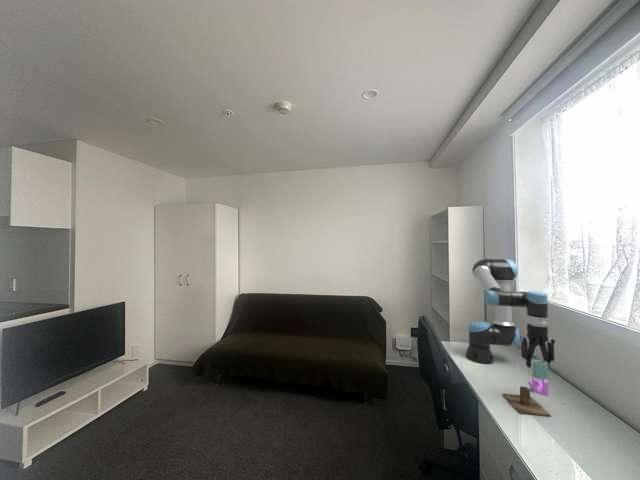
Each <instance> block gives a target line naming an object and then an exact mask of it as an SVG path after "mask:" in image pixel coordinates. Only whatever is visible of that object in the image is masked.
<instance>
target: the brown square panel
mask: <svg viewBox="0 0 640 480" xmlns="http://www.w3.org/2000/svg"><path fill="white" fill-rule="evenodd" d="M530 393H531V390H530V389H529V388H528V387H527V386H519V394H511V393H502V396H503V397H504V398H505V400H506V401H507V400H508V401H507V402H508V403H509V404H510V405H511V406H512V407H513V408H514V410H516V412H517V413H518V414H520V415H529V416H539V417H547V418H548V417H549V418H551V416H552V415H551V413H549V412H548V411H547V410H546V409H545V408H544V407H543V406H542V405H541V404H539V402H537V401H536V399H534V398H533V397H532V396H531V394H530Z"/></svg>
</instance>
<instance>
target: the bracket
mask: <svg viewBox="0 0 640 480" xmlns="http://www.w3.org/2000/svg"><path fill="white" fill-rule="evenodd" d="M531 376H532V375H531ZM528 382H529V385H530V387H531V389H532V391H533V393H535V394H541V395H545V396H549V381H548V379H542V381H541V380H540V379H536V378H534V377H533V376H532V377H531V378H530V379H528Z"/></svg>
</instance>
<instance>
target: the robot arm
mask: <svg viewBox="0 0 640 480" xmlns="http://www.w3.org/2000/svg"><path fill="white" fill-rule="evenodd" d="M471 272H472V274H473V276H474V278H476V279H478V281H479V282H480V284H481V286H482V288H483V290H484V295H483V297H484V302H485V303H486V305H487V306H494V309H495V310H494V313H495V320H493V322H492V324H491V323H489V321H488V322H487V321H482V320H477V321H476V320H475V321H472V322H470V323H469V325H468V345H467V349H466V352H465V357H466V359H468V360H470V361H473V362H474V363H478V364H484V365H488V364H489V365H490V364H493V363H494V355H493V353H492V349H491V345H495V346H506V347H516V346H518V345H519V343H520V342H521V344H520V345H521V349H520V350H521V351H520V353H521V354H520V355H521V358H523V359H524V360H525V365H526V367H527V373H528V375H530V376H534V362H533V361H532V360H533V357H534V353H535V349H536V348H537V346H539V348H540V352H541V356H542V358H543V359H541V361H542V362H544V363H546V364H548V370H549V369H550V364H551V363H552V362H554V361H555V343H556V340H555V339H553V338H551V337H549V336H548V334H549V328H548V325H549V323H548V317H549V316H548V315H549V314H548V310H549V309H548V306H549V305H548V302H549V301H548V294H547V293H545V292H543V291H536V290H529V291H521V290H520V291H512V283H513V282H514V281H515V280H514V279H516V278H517V277H518V274H519V273H518V267H517V265H516V263H515V262H514V261H513V260H512V259H506V258H505V259H504V258H502V259H501V258H500V259H498V258H497V259H495V258H484V259H480V260H478V261H477V262H476V263H474V265H473V266H472V269H471ZM515 307H516V308H526V332H527V333H526V334H527V335H526V336H522V335H521V334H520V330H519V327H516V323H514V322H513V310H512V309H513V308H515Z"/></svg>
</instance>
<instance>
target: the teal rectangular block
mask: <svg viewBox="0 0 640 480" xmlns="http://www.w3.org/2000/svg"><path fill="white" fill-rule="evenodd" d="M532 361H533V362H534V376H533V377H534V378H536V379H537V380H543V379H547V380H549V369H548V364H546V363H544V362H542V359H532Z"/></svg>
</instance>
